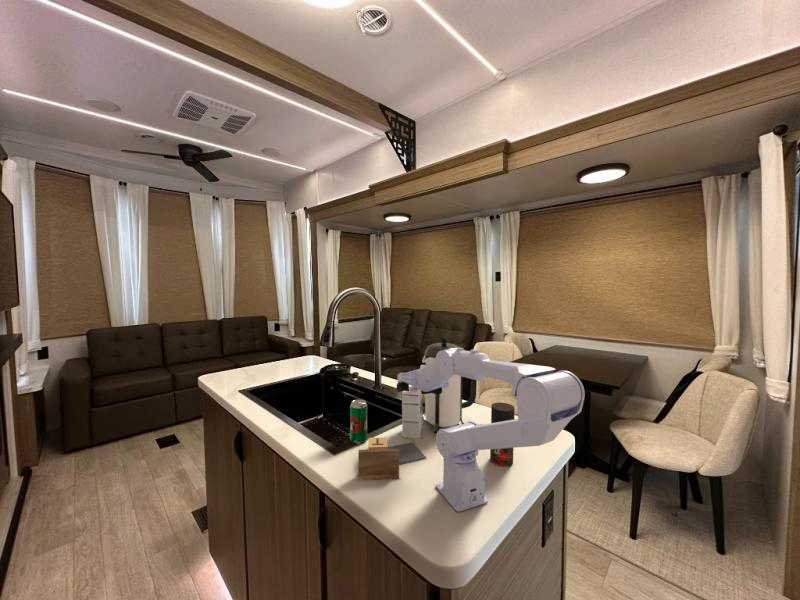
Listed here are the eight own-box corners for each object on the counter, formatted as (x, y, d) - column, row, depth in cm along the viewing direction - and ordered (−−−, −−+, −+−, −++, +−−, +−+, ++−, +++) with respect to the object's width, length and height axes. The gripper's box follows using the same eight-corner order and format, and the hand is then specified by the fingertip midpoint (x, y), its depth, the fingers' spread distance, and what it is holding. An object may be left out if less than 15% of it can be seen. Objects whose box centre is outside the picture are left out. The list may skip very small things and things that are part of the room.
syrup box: (420, 439, 99) (420, 392, 99) (401, 437, 101) (401, 391, 100) (422, 430, 105) (423, 386, 104) (404, 428, 106) (405, 385, 105)
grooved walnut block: (399, 478, 80) (399, 452, 79) (358, 480, 79) (358, 454, 78) (398, 471, 83) (398, 446, 82) (358, 472, 82) (358, 447, 81)
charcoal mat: (426, 458, 88) (426, 457, 88) (395, 465, 85) (395, 464, 85) (412, 443, 97) (412, 441, 97) (384, 449, 93) (384, 447, 93)
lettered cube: (387, 465, 85) (387, 446, 85) (368, 465, 85) (368, 447, 85) (386, 454, 91) (386, 437, 90) (368, 455, 90) (368, 437, 90)
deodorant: (489, 464, 86) (490, 409, 85) (491, 453, 92) (492, 401, 91) (512, 469, 84) (514, 412, 83) (513, 457, 89) (515, 404, 88)
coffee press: (459, 440, 99) (461, 343, 97) (413, 428, 107) (413, 338, 105) (476, 419, 114) (478, 334, 112) (434, 410, 122) (435, 331, 120)
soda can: (367, 444, 96) (367, 404, 95) (350, 445, 95) (350, 405, 94) (366, 436, 101) (366, 398, 100) (349, 437, 100) (349, 399, 99)
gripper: (455, 362, 87) (431, 378, 97) (407, 355, 81) (386, 372, 92) (459, 388, 83) (433, 402, 93) (408, 383, 78) (386, 398, 88)
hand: (410, 389), depth 92 cm, fingers open, 7 cm apart
